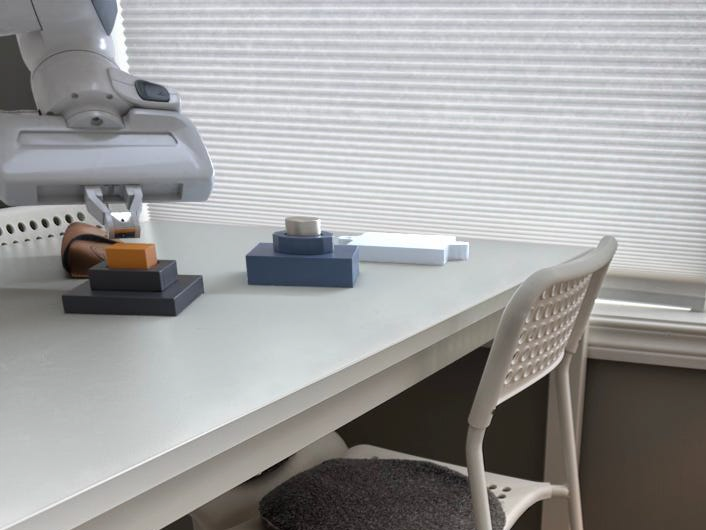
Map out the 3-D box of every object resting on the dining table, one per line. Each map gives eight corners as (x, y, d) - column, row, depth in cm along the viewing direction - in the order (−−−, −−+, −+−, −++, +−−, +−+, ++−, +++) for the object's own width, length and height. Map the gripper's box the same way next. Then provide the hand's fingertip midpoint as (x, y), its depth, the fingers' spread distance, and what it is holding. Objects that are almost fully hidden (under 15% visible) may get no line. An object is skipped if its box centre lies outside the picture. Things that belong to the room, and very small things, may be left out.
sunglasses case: (142, 272, 110) (103, 218, 106) (92, 306, 110) (51, 254, 106) (133, 249, 125) (98, 201, 121) (89, 279, 124) (52, 232, 120)
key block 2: (247, 285, 109) (243, 238, 106) (261, 270, 117) (258, 226, 115) (352, 288, 109) (351, 241, 107) (359, 273, 118) (358, 229, 115)
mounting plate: (472, 251, 136) (473, 237, 135) (462, 266, 125) (463, 250, 124) (349, 245, 137) (348, 231, 136) (328, 259, 126) (327, 243, 125)
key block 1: (67, 331, 86) (56, 274, 84) (107, 305, 97) (98, 253, 94) (178, 334, 87) (171, 277, 84) (206, 307, 97) (200, 256, 95)
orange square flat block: (108, 271, 88) (104, 248, 87) (119, 265, 91) (116, 242, 90) (148, 272, 88) (144, 249, 87) (157, 266, 91) (154, 243, 90)
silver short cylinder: (283, 239, 109) (282, 220, 108) (288, 234, 112) (287, 215, 111) (318, 240, 109) (317, 221, 108) (322, 235, 113) (321, 217, 112)
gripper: (-35, 83, 85) (3, 215, 83) (194, 89, 94) (233, 208, 92) (-27, 136, 90) (8, 261, 88) (188, 137, 99) (225, 251, 97)
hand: (124, 234), depth 90 cm, fingers closed
